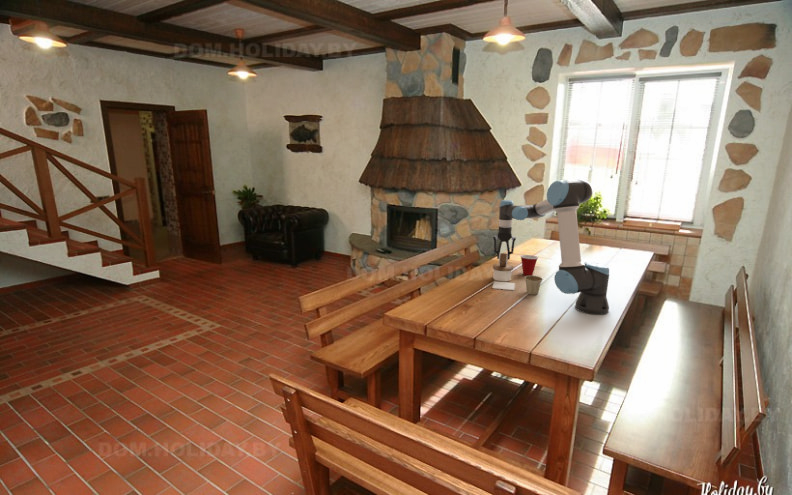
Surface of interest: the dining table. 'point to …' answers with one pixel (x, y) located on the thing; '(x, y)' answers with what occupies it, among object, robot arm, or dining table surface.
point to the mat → (503, 285)
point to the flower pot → (533, 284)
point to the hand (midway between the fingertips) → (503, 264)
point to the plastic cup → (528, 264)
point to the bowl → (502, 275)
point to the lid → (503, 264)
